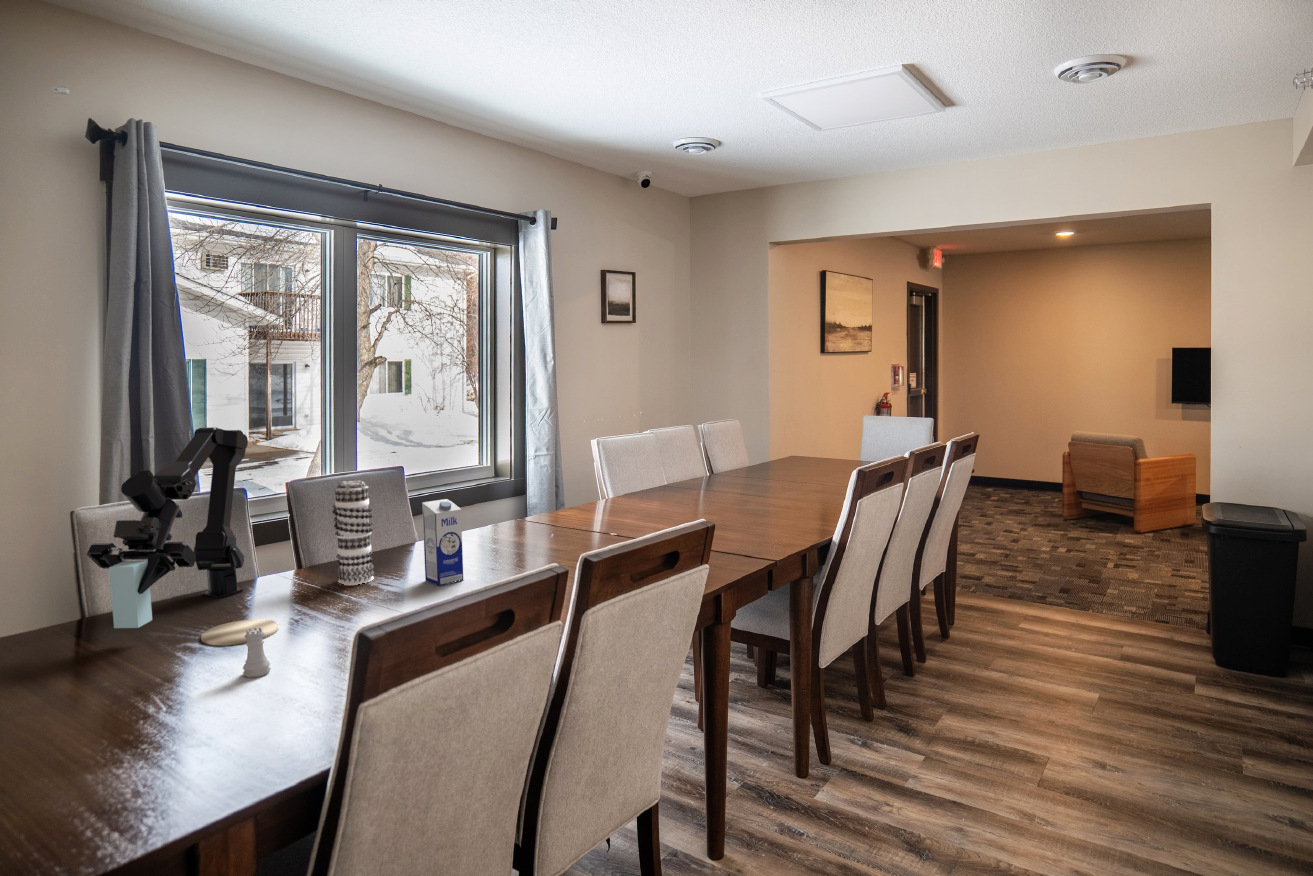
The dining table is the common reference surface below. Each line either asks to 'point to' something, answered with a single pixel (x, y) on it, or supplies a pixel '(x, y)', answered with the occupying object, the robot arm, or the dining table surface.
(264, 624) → the board
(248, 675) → the rook chess piece
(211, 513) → the robot arm
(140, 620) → the teal post
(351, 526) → the patterned cylinder tower
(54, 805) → the dining table surface
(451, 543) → the milk carton
